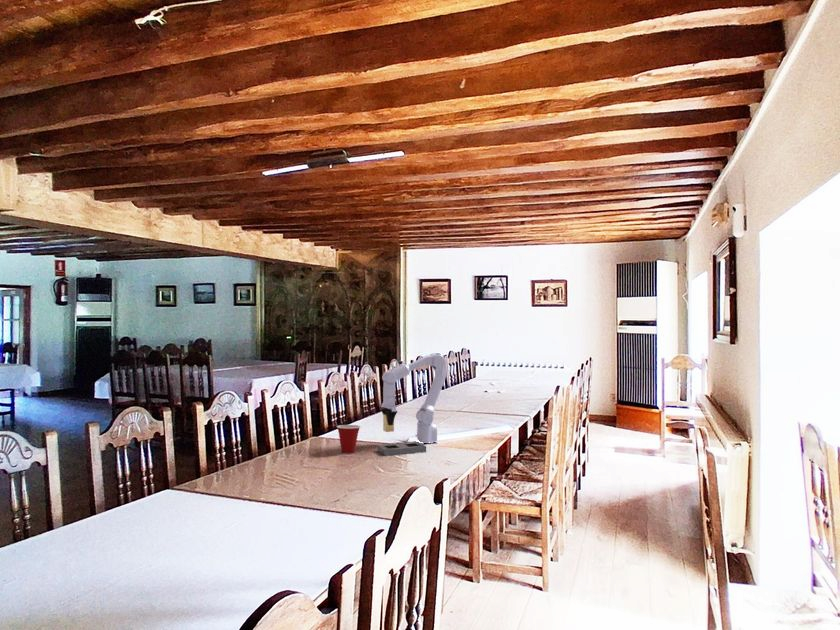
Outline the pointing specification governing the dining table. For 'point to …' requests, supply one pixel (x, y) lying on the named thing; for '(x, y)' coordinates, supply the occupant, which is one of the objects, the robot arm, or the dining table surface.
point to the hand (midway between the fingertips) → (388, 424)
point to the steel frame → (401, 448)
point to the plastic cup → (348, 437)
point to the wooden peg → (385, 425)
